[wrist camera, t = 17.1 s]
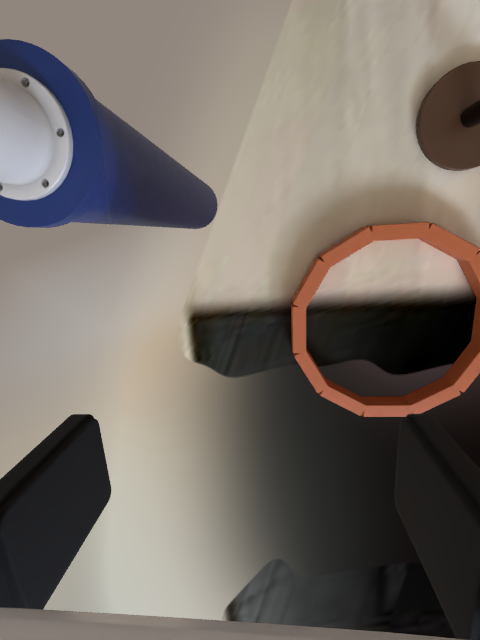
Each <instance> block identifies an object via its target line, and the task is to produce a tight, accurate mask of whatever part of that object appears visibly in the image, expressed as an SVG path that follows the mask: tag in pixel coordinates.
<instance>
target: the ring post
mask: <svg viewBox="0 0 480 640" xmlns="http://www.w3.org/2000/svg"><path fill="white" fill-rule="evenodd" d="M417 138H418V142H419V145H420V147H421V150H422V151H423V153H424V155H425V156H426V157H427V158H428V159H429V160H430V161H431V162H432V163H434V164H435V165H437V166H439V167H441V168H443V169H447V170H453V171H461V170H467V169H471V168H475V167H478V166H480V61H475V62H469V63H466V64H463V65H461V66H459V67H456V68H455V69H453V70H451V71H450V72H448V73H447V74H446V75H444V76H443V77H442V78H441V79H440V80H439V81H438V82H437V83H436V84H435V85H434V86H433V87H432V88H431V90H430V91H429V92H428V94H427V95H426V97H425V99H424V101H423V103H422V105H421V107H420V110H419V114H418V118H417Z"/></svg>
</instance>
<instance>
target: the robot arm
mask: <svg viewBox="0 0 480 640" xmlns="http://www.w3.org/2000/svg"><path fill="white" fill-rule="evenodd" d="M63 134H64V135H63ZM72 157H73V137H72V130H71V127H70V123H69V120H68V117H67V115H66V113H65V111H64V109H63V107H62V105H61V104H60V102H59V101H58V100H57V98H56V97H55V95H54V94H53V93H52V92H51V91H50V90H49V89H48V88H47V87H46V86H44V85H43V84H42V83H40V82H39V81H37V80H36V79H34V78H33V77H31V76H30V75H28V74H26V73H23V72H21V71H18V70H15V69H7V68H0V195H2V196H4V197H7V198H11V199H15V200H23V201H30V200H37V199H41V198H44V197H46V196H48V195H49V194H51V193H53V192H54V191H55V190H56V189H57V188H58V187H59V186H60V185H61V184H62V182H63V181H64V179H65V178H66V176H67V174H68V172H69V169H70V167H71V162H72ZM110 495H111V485H110V480H109V475H108V469H107V464H106V459H105V454H104V449H103V443H102V438H101V433H100V428H99V423H98V421H97V420H96V419H94V417H93V416H92V415H90V414H85V415H84V414H83V415H82V414H80V415H79V414H76V415H75V414H74V415H71V416H70V417H68V418H67V419H66V420H65V421H64V422H63V423H62V424H61V425H60V426H59V427H58V428H56V429H55V430H54V431H53V432H52V433H51V434H50V435H49V436H48V437H46V438H45V439H44V440H43V441H42V442H41V443H40V444H39V445H38V446H36V447H35V448H34V449H33V450H32V451H31V452H30V453H29V454H28V455H27V456H26V457H24V458H23V459H22V460H21V461H20V462H19V463H18V464H17V465H16V466H15V467H14V468H12V469H11V470H10V471H9V472H8V473H7V474H6V475H5V476H4V477H3V478H1V479H0V640H480V468H479V467H478V466H477V465H476V464H474V463H473V462H472V461H471V459H470V458H469V457H468V456H467V455H466V454H465V453H464V451H463V450H462V449H461V448H460V447H459V446H458V445H457V444H456V443H455V441H454V440H453V439H452V438H451V437H450V436H449V434H448V433H447V432H446V431H445V430H444V429H443V428H442V427H441V426H440V424H439V423H438V422H437V421H436V420H435V419H434V418H433V416H432V415H430V414H408V415H407V416H406V419H401V421H400V427H399V440H398V453H397V465H396V479H395V492H394V498H395V504H396V508H397V510H398V512H399V514H400V517H401V519H402V521H403V523H404V526H405V528H406V530H407V532H408V534H409V536H410V539H411V541H412V543H413V545H414V547H415V550H416V552H417V554H418V556H419V558H420V560H421V563H422V565H423V567H424V569H425V571H426V574H427V576H428V578H429V580H430V582H431V585H432V587H433V589H434V591H435V593H436V595H437V598H438V600H439V602H440V604H441V606H442V609H443V611H444V613H445V615H446V617H447V619H448V622H449V624H450V626H451V628H452V630H453V633H454V635H455V637H456V639H453V638H443V637H432V636H421V635H410V634H399V633H388V632H374V631H361V630H347V629H333V628H319V627H305V626H291V625H277V624H263V623H248V622H233V621H218V620H203V619H188V618H187V619H186V618H172V617H157V616H141V615H126V614H108V613H92V612H90V613H89V612H74V611H57V610H43V608H44V607H45V605H46V603H47V601H48V600H49V599H50V597H51V595H52V594H53V592H54V590H55V589H56V587H57V585H58V584H59V582H60V580H61V579H62V577H63V575H64V574H65V572H66V570H67V569H68V567H69V566H70V564H71V562H72V561H73V559H74V557H75V556H76V554H77V552H78V551H79V549H80V547H81V546H82V544H83V542H84V541H85V539H86V537H87V536H88V534H89V533H90V531H91V529H92V527H93V526H94V524H95V523H96V521H97V519H98V518H99V516H100V514H101V513H102V511H103V509H104V507H105V506H106V504H107V503H108V501H109V498H110Z"/></svg>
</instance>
